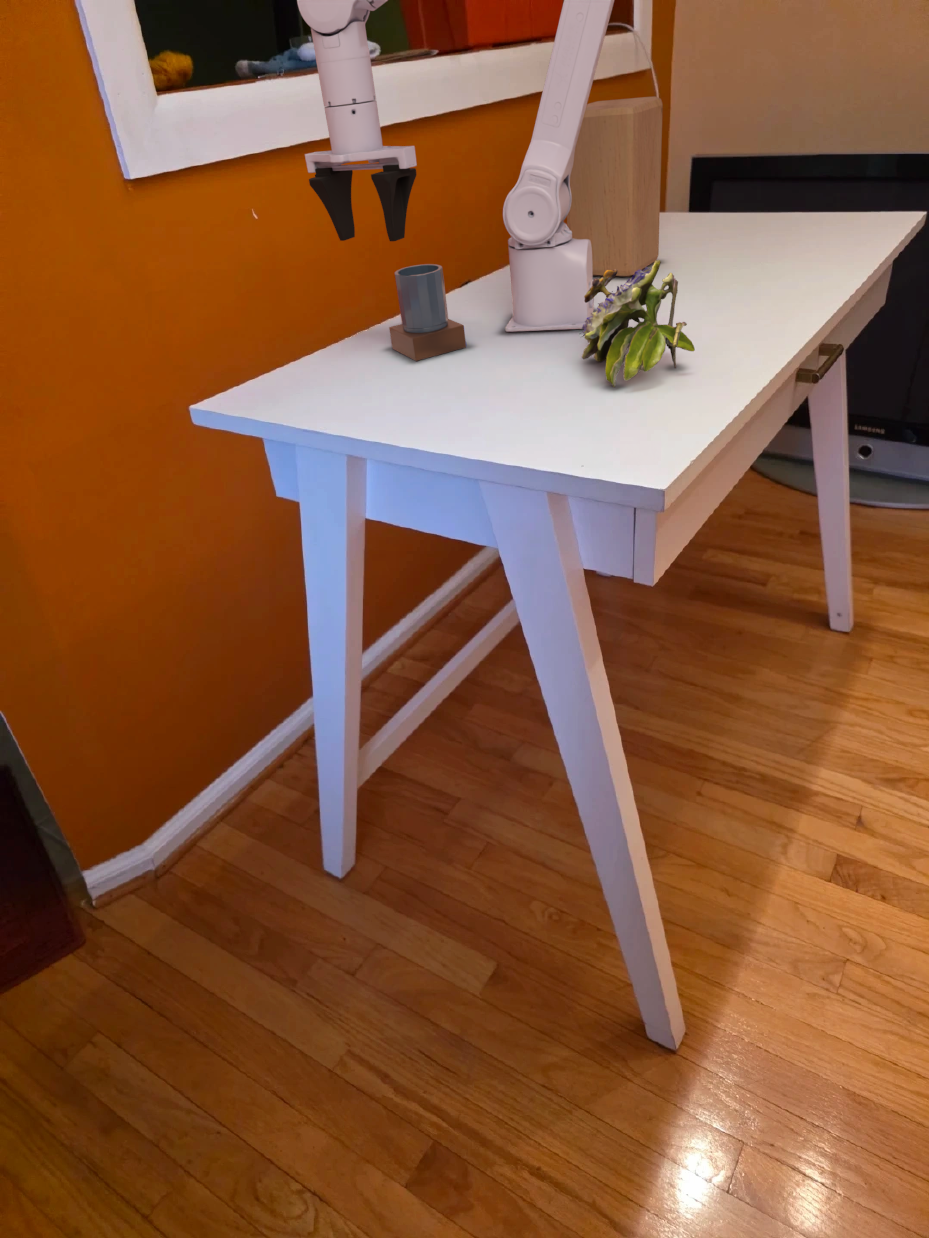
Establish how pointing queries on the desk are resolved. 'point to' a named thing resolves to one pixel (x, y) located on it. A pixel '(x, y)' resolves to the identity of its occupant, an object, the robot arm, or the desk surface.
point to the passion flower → (643, 340)
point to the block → (428, 341)
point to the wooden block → (618, 183)
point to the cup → (422, 298)
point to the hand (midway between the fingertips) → (371, 239)
